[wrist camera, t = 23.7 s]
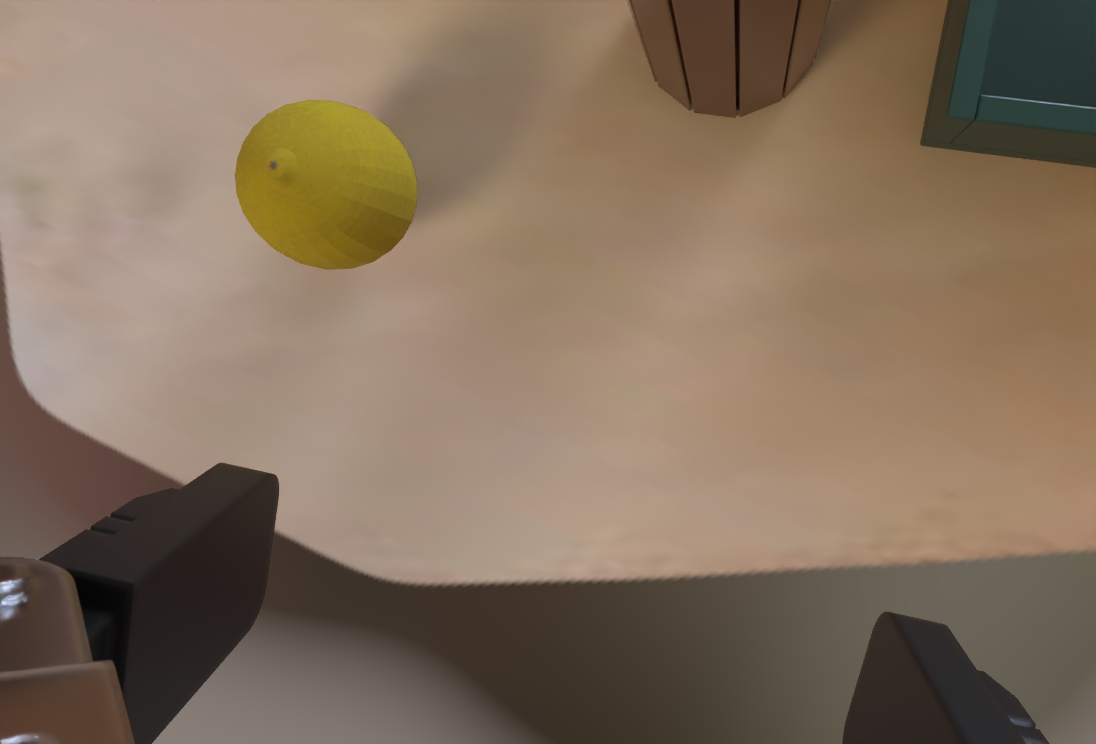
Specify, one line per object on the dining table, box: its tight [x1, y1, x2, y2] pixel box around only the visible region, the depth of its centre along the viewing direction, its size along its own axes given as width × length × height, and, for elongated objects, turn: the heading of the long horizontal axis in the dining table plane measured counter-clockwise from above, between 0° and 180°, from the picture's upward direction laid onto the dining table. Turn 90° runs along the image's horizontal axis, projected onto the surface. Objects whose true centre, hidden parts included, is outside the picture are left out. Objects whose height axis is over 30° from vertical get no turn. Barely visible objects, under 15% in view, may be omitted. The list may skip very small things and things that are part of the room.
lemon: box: [235, 100, 417, 269], centre depth 32 cm, size 6×6×8 cm
